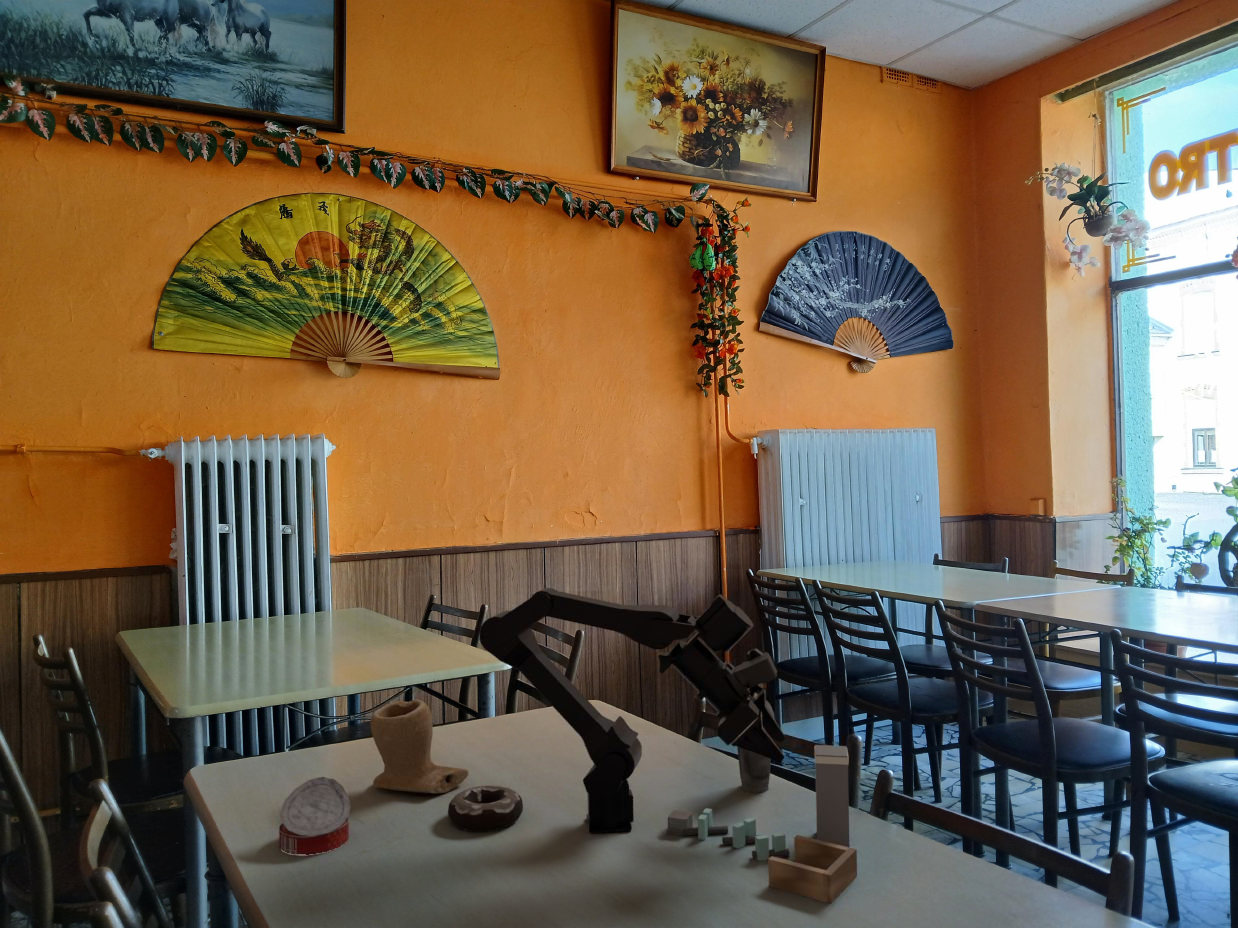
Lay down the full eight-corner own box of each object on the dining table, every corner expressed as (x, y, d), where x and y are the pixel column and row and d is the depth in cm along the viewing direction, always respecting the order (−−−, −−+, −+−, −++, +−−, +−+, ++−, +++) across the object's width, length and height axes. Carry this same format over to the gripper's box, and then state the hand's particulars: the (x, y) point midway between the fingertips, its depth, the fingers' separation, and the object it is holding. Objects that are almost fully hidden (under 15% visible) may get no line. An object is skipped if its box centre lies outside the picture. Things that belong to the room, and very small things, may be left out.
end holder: (769, 885, 116) (768, 858, 116) (797, 859, 123) (797, 834, 123) (831, 903, 111) (830, 875, 111) (857, 875, 118) (856, 849, 118)
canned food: (348, 863, 136) (377, 806, 135) (305, 885, 126) (335, 824, 126) (296, 820, 140) (324, 764, 139) (250, 838, 130) (280, 779, 130)
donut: (536, 812, 143) (536, 787, 143) (496, 840, 132) (496, 813, 132) (476, 801, 148) (475, 777, 148) (432, 828, 137) (432, 802, 137)
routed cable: (694, 863, 123) (694, 856, 123) (682, 833, 133) (682, 826, 133) (789, 857, 124) (789, 850, 124) (770, 828, 134) (770, 821, 134)
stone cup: (356, 795, 151) (354, 707, 151) (400, 772, 162) (398, 690, 162) (430, 807, 145) (428, 715, 145) (470, 783, 156) (469, 697, 156)
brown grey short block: (667, 832, 133) (667, 816, 133) (673, 825, 136) (673, 809, 136) (687, 835, 132) (686, 819, 132) (692, 827, 135) (692, 811, 135)
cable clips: (770, 864, 122) (770, 842, 122) (689, 835, 132) (689, 815, 132) (793, 851, 126) (792, 830, 126) (712, 824, 136) (712, 804, 136)
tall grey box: (816, 844, 128) (814, 754, 128) (816, 831, 133) (814, 744, 133) (850, 847, 127) (848, 756, 127) (848, 833, 132) (846, 745, 132)
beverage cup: (776, 796, 147) (773, 675, 147) (731, 794, 148) (729, 674, 149) (777, 780, 154) (775, 665, 154) (735, 778, 156) (732, 664, 156)
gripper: (739, 648, 123) (823, 731, 121) (747, 624, 142) (820, 695, 139) (684, 703, 125) (766, 786, 123) (699, 672, 143) (770, 744, 141)
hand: (782, 749), depth 131 cm, fingers open, 9 cm apart
